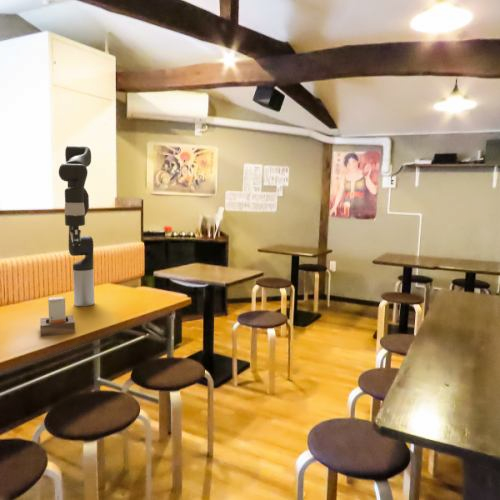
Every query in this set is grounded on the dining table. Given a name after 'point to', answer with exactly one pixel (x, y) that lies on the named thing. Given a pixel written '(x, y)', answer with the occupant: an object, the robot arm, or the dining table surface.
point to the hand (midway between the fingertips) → (76, 253)
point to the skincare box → (57, 309)
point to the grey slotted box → (57, 326)
